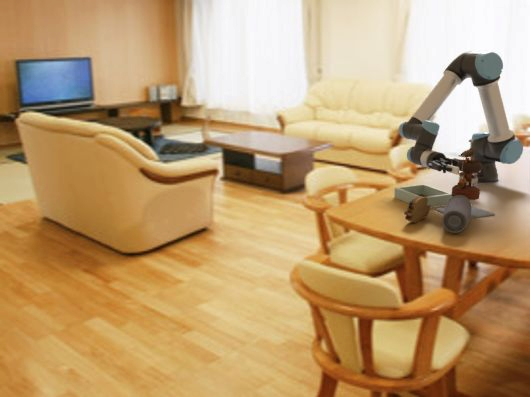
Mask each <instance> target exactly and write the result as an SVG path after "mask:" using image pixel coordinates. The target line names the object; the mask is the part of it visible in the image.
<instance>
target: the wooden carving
mask: <svg viewBox="0 0 530 397" xmlns="http://www.w3.org/2000/svg"><path fill="white" fill-rule="evenodd" d="M427 197H428V196H426V195H423V196H422V195H419V196H418V197H416V198H414V199H413V200H411V201H410V202H409V203H408V206H407V207H408V208H407V210H406V211H405V210H404V212H403V214H404V215H405V220H406V221H408V222H411V223H414V224H417V223H420V222H421V221H422V220H424V218H427V217H428V216H429V214H430V210H431V208H432V207H431V206H430V205H428V204H427V202H428V198H427Z"/></svg>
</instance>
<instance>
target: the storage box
mask: <svg viewBox="0 0 530 397" xmlns="http://www.w3.org/2000/svg"><path fill="white" fill-rule="evenodd" d="M393 194H394V195H393V196H394V199H398V200H400V201H402V202H404V203H407V204H409V202H410V201H411V200H413V199H414V198H416V197H418V196H422V195H423V196H425V197H427V198H428V202H427V204H428V205H430V206H431V208H436V207H437V208H438V207H444V206H445V207H446V205H447V204H448V202H449V200H450V199H451V198H452V195H451V194H452V192H448V191H446V190H443V189H440V188H438V187H434V186H432V185H429V184H426V183H422V184H414V185H413V184H412V185H405V186H397V187H394V193H393Z"/></svg>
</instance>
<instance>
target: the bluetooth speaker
mask: <svg viewBox="0 0 530 397" xmlns="http://www.w3.org/2000/svg"><path fill="white" fill-rule="evenodd" d="M471 206H472V203H471V200H469V199H468V198H467V197H466V196H463V195H456V196H454V197H452V198H451V199H450V200H449V202H448V204H447V205H445V207H446V208H445V207H444V208H445V209H444V213H442V219H441V222H442V226H443V228H444V229H445V230H446V231H447V232H449V233H455V234H457V233H461V232H462V231H464V230H465V228H466V227H467V226H468V224H469V221H470V220H471V219H470V216H471Z"/></svg>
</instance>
